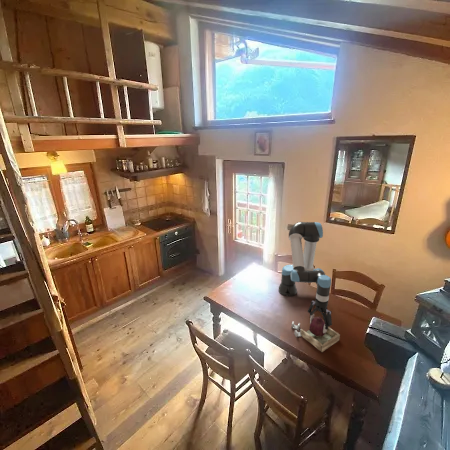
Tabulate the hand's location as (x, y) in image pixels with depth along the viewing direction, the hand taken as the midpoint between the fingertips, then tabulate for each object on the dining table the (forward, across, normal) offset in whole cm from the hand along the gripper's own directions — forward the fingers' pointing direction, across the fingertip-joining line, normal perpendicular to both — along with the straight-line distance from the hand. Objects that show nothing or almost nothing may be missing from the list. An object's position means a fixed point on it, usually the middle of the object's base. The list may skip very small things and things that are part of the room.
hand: (317, 327), depth 163 cm
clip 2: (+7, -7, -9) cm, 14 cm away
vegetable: (+3, 0, 0) cm, 3 cm away
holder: (+7, +2, 0) cm, 7 cm away
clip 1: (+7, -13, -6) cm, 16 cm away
